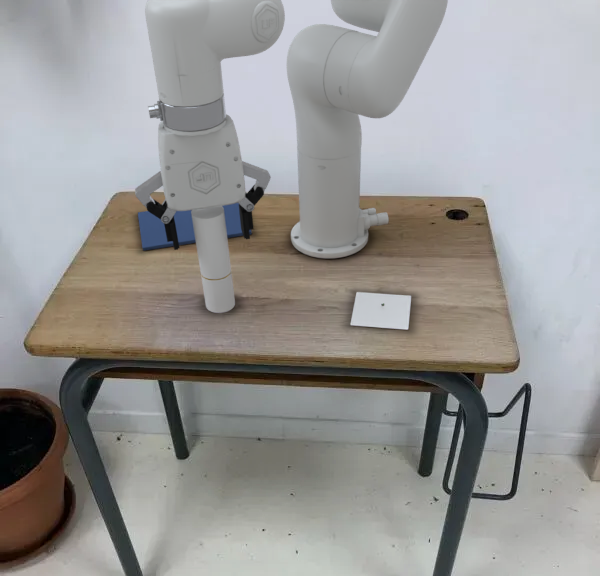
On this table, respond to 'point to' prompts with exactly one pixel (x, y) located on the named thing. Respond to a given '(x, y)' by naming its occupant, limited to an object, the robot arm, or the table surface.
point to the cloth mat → (182, 227)
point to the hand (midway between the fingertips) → (210, 239)
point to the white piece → (381, 310)
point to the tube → (214, 258)
